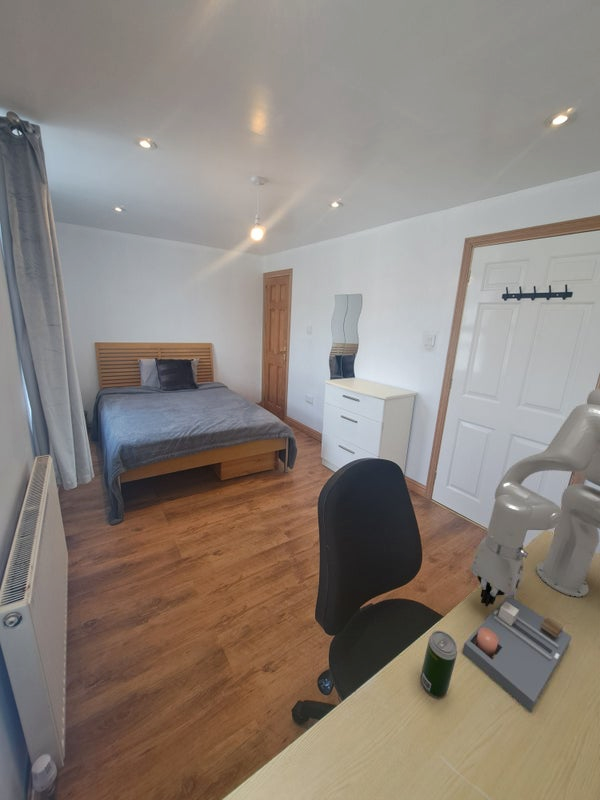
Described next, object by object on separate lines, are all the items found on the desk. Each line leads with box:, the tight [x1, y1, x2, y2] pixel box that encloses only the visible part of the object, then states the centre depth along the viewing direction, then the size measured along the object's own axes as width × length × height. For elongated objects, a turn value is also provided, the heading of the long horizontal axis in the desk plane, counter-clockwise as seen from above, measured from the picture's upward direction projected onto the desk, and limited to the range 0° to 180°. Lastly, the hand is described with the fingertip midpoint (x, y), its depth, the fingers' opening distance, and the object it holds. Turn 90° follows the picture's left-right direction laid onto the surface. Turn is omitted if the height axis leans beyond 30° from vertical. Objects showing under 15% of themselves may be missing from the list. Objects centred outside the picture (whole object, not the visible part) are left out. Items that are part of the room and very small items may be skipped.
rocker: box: [541, 616, 564, 637], centre depth 78 cm, size 5×3×1 cm, turn 127°
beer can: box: [420, 630, 458, 699], centre depth 66 cm, size 5×5×12 cm
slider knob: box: [498, 602, 519, 626], centre depth 80 cm, size 3×3×3 cm
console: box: [461, 596, 573, 713], centre depth 76 cm, size 24×14×4 cm, turn 126°
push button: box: [475, 628, 499, 657], centre depth 74 cm, size 4×4×4 cm
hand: (486, 602), depth 84 cm, fingers closed
